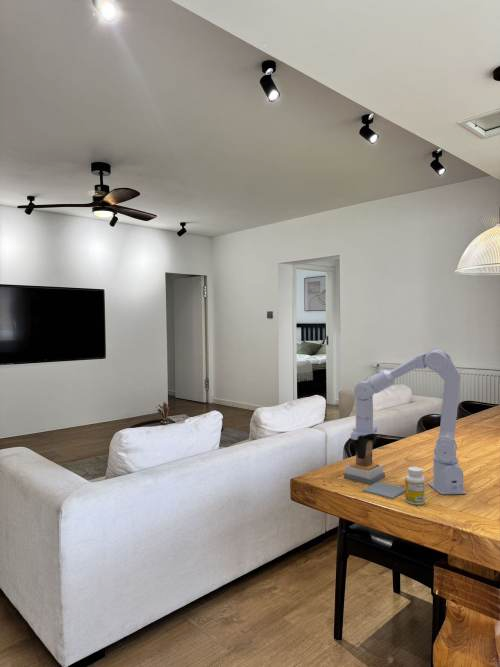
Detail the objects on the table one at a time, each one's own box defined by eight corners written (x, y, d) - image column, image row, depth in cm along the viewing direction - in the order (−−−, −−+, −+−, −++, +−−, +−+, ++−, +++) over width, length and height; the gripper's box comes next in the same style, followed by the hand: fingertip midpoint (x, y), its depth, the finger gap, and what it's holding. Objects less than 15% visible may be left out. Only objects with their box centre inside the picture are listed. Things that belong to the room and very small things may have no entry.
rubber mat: (407, 490, 146) (407, 488, 146) (393, 499, 139) (393, 497, 139) (377, 482, 153) (377, 481, 153) (362, 491, 146) (362, 489, 146)
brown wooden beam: (372, 463, 159) (372, 440, 158) (366, 466, 156) (366, 442, 156) (361, 461, 161) (361, 438, 161) (355, 464, 158) (355, 440, 158)
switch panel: (384, 476, 159) (384, 465, 159) (370, 484, 151) (370, 472, 151) (358, 470, 166) (358, 459, 166) (343, 477, 158) (343, 466, 158)
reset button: (378, 469, 159) (378, 463, 159) (368, 474, 154) (368, 468, 154) (360, 465, 163) (360, 459, 163) (349, 470, 158) (349, 464, 158)
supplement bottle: (409, 496, 141) (409, 464, 141) (427, 501, 137) (427, 468, 137) (402, 502, 137) (402, 469, 136) (421, 506, 133) (421, 472, 133)
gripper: (364, 412, 166) (364, 450, 166) (342, 418, 155) (342, 459, 156) (382, 414, 161) (382, 453, 162) (361, 421, 151) (361, 463, 151)
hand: (364, 456), depth 158 cm, fingers closed on brown wooden beam, 4 cm apart
